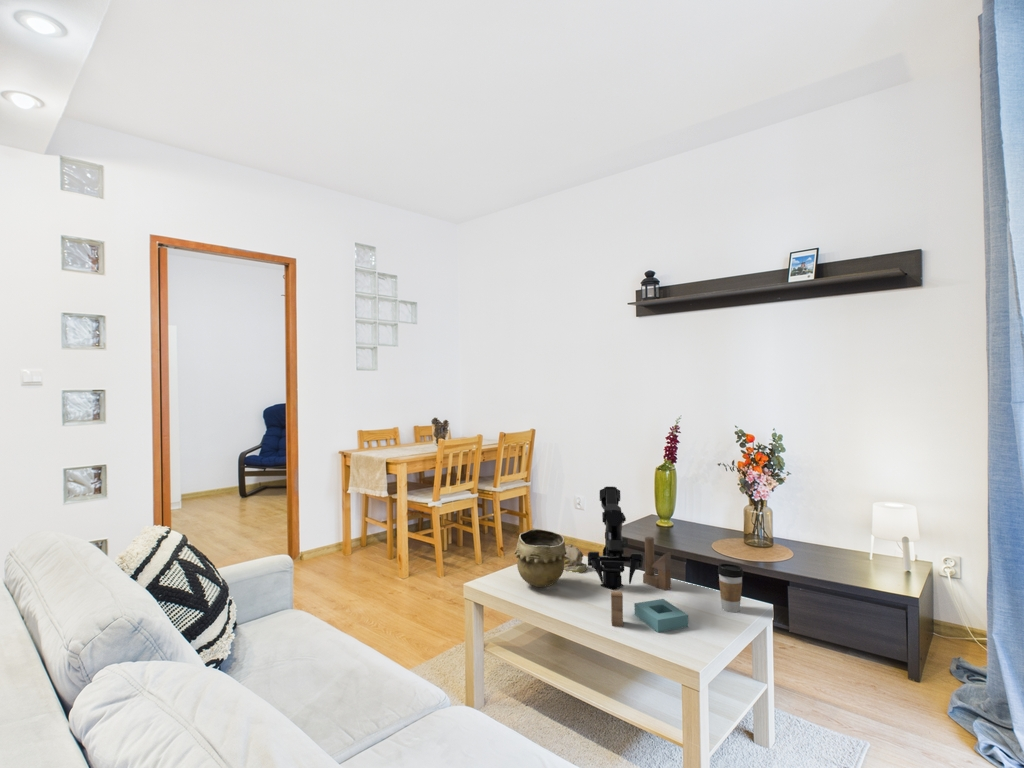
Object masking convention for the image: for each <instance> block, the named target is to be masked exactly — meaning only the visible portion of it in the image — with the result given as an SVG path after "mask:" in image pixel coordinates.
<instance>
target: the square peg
mask: <svg viewBox="0 0 1024 768" xmlns="http://www.w3.org/2000/svg"><path fill="white" fill-rule="evenodd" d="M610 594H611V595H610V596H611V597H610V600H611V601H610V604H611V605H610V607H611V609H610V610H611V611H610V612H611V616H610V617H611V627H624V618H623V617H624V613H623V612H624V611H623V610H624V608H623V607H624V602H623V601H624V596H623V591H621V590H620V591H619V590H610Z"/></svg>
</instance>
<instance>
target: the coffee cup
mask: <svg viewBox="0 0 1024 768" xmlns="http://www.w3.org/2000/svg"><path fill="white" fill-rule="evenodd" d="M743 570H744V569H743V567H742V566H740V565H738V564H732V563H719V564H718V569H717V573H718V577H719V578H718V582H719V583H718V584H719V593H720V603H721V609H722V610H723V609H724V611H725V610H726V612H728V611H730V612H729V613H738V612H740V611H739V610H741V601H742V589H743V577H744V571H743Z"/></svg>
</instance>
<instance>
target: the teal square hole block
mask: <svg viewBox="0 0 1024 768" xmlns="http://www.w3.org/2000/svg"><path fill="white" fill-rule="evenodd" d="M633 603H634V604H633V605H634V606H633V607H634V608H633V609H634V611H633V612H634V616H635V617H636V618H637V619H639V620H640V621H642V622H643V623H644V624H646V625H647V626H649V627H650V628H651V629H653V630H654V631H655V632H656V633H662V632H668V631H674V630H679V629H685V628H689V614H688V613H687V612H685V611H683V610H682V609H680V608H678V607H677V606H675V605H674V604H672V603H670V602H669V601H667V600H666V599H664V598H661V599H660V598H659V599H653V600H647V601H642V602H633Z"/></svg>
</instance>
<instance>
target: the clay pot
mask: <svg viewBox="0 0 1024 768" xmlns="http://www.w3.org/2000/svg"><path fill="white" fill-rule="evenodd" d="M565 545H566V544H565V539H564V536H563V535H562V534H560V533H558V532H554V531H552V530H551V531H550V530H546V529H542V528H538V529H535V528H533V529H530V530H527V531H525V532H521V533H519V536H518V539H517V544H516V548H515V551H514V552H513V553H514V555H515V558H516V559H517V562H516V565H517V570H518V573H519V575H520V577H521V578H522V580H523V581H524V582H526V583H527V584H529V585H530V586H534V587H537V588H544V587H545V588H546V587H549V586H551V585H553V584H555V582H557V581H558V580H559V579H560V578H561V576H562V575H563V572H564V571H563V570H564V558H565V557H566V556H565V555H566V554H567V552H566V548H565Z"/></svg>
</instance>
